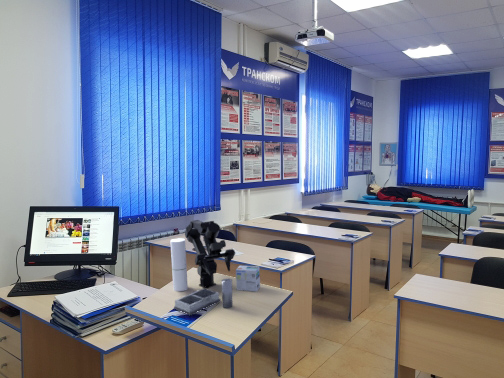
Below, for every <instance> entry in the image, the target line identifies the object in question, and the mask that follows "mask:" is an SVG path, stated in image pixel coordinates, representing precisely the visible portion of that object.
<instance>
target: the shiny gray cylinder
mask: <svg viewBox="0 0 504 378" xmlns="http://www.w3.org/2000/svg"><path fill="white" fill-rule="evenodd" d="M232 281H233V280H232V279H231V278H223V279H221V293H222V294H221V295H222V298H221V299H222V308H223V309H225V310H226V309H227V310H229V309H232V308H233V307H234V305H233V282H232Z"/></svg>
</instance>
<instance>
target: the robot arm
mask: <svg viewBox="0 0 504 378" xmlns="http://www.w3.org/2000/svg"><path fill="white" fill-rule="evenodd" d="M220 230H221V227H220V225H219V224H218V223H216V222H215V221H214V220H211V221H210V220H209V221H202V220H199V219H195V220H191V221H190V222H189V224H188V225H187V226H186V227H185V230H184V236H185V238H186V240H187V241H188V242H189V243H191V244H192V246H193V248H194V250H195V253H196V256H195V258H194V263H195V266H197V268H196V269H197V270H196V271H197V274H198V276H199V284H198V286H199V287H202V288H206V289H208V288H211V287H213V286H216V285H217V282H215V280H214V279H215V278H214V274H216V273H217V268H218V264H217V262H216V261H215V260H216V259H221V258H224V262H225V266H226V268H227V271H228V272H231V261H232V260H233V259H234V257H235V255H236V251H235V249H233V248H229V249H225V252H222V251H223V249H224V248H226V245H227V243H226V240H225V239H224V240H223V239H221V240H220V241H217V237H218V235H219V232H220ZM202 234H203V236H202ZM201 237H202V238H203V242H204V244H203V242H202V239H201ZM204 245H205V246H204ZM221 252H222V253H221Z"/></svg>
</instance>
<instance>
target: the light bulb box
mask: <svg viewBox="0 0 504 378" xmlns="http://www.w3.org/2000/svg"><path fill="white" fill-rule="evenodd" d="M260 272H261V271H260V266H259V265H258V266H256V265H255V266H254V265H241V264H240V265H239V266H238V267H237V268H236V269H235V280H236V281H235V283H236V285H235V286H236V291H243V290H244V292H256V293H257V292H258V291H259V289H260V288H261V276H260V275H261V274H260Z"/></svg>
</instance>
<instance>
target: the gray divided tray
mask: <svg viewBox="0 0 504 378" xmlns="http://www.w3.org/2000/svg"><path fill="white" fill-rule="evenodd" d="M221 299H222V298H220V293H219V292H217V291H214V290H211V289H208V288H205V287H202V288H201V289H198V290H197V291H193V292H192V293H189V294H187V295H184V296H182V297H180V298H177V299H175V300H174V307H173V309H174V310H175V309H176V310H175V311H178V312H180V311H182V312H185V313H187V314H189V315H188V316H190V315H191V316H193V315H195V314H197V313H198V312H197V311H199V312H201V311H203V310H204V309H203V308H206V307H208V306H210V305H212V304H214V303H216V304H218V303H220V302H221ZM214 305H215V304H214ZM212 306H213V305H212ZM210 307H211V306H210ZM208 308H209V307H208ZM202 309H203V310H202ZM206 309H207V308H206ZM200 310H201V311H200ZM182 312H181V313H182ZM196 312H197V313H196ZM185 313H184V314H185ZM194 313H195V314H194ZM187 314H186V315H187ZM192 314H193V315H192Z"/></svg>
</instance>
